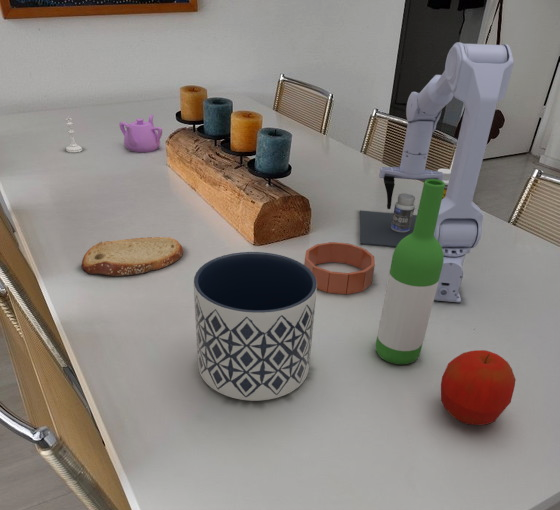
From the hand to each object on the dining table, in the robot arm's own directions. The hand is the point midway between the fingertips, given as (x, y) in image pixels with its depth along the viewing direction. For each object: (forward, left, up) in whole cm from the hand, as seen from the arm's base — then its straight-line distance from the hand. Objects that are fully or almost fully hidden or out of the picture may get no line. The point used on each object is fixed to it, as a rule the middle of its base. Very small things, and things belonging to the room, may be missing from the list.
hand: (404, 209), depth 132 cm
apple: (-67, -6, -6) cm, 67 cm away
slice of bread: (-28, +59, -6) cm, 66 cm away
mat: (0, 0, -6) cm, 6 cm away
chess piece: (+41, +101, -6) cm, 109 cm away
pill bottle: (0, 0, -5) cm, 5 cm away
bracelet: (-27, +15, -6) cm, 31 cm away
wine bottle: (-53, +4, -6) cm, 53 cm away
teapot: (+49, +81, -6) cm, 95 cm away
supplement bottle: (+17, -11, -6) cm, 21 cm away
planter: (-61, +28, -6) cm, 67 cm away
